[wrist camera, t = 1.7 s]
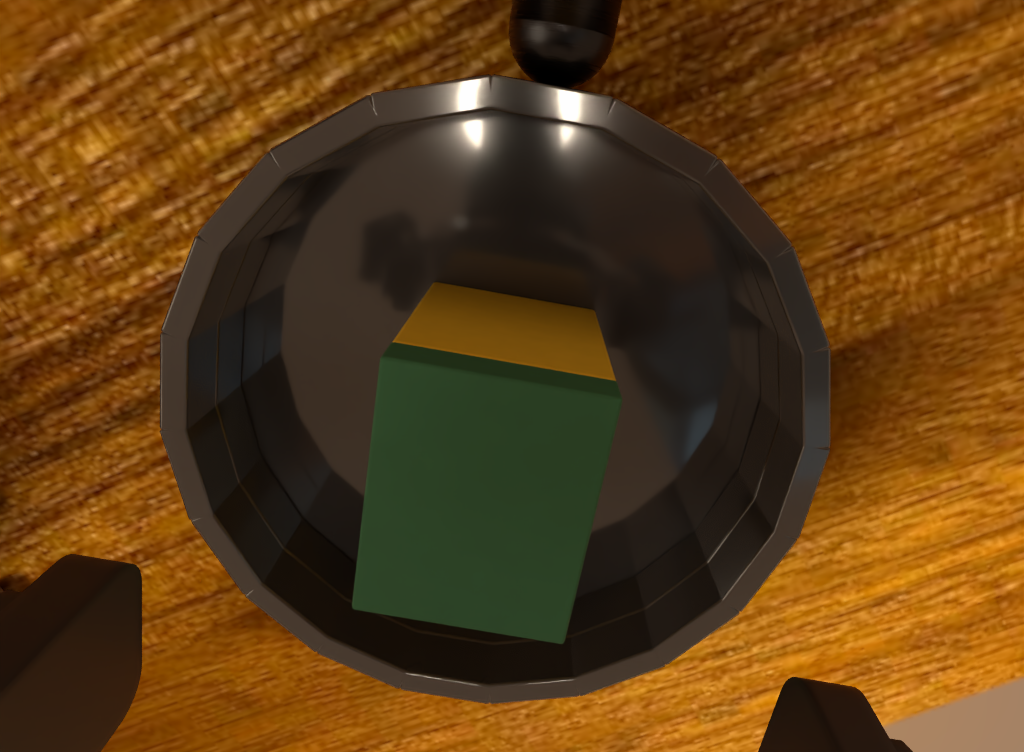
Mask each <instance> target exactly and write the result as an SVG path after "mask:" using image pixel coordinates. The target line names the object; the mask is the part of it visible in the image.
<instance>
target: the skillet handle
mask: <svg viewBox="0 0 1024 752" xmlns="http://www.w3.org/2000/svg"><path fill="white" fill-rule="evenodd" d="M621 3H622V0H513V2H512V9H511V15H510V22H509V40H510V46H511V49H512V53H513V56H514V58H515V59H516V61H517V63H518V65H519V66H520V68H521V69H522V70H523V71H524V73H525V74H526V75H528V76H529V77H530V78H531V79H532V80H533V81H535V82H539V83H544V84H550V85H555V86H561V87H566V88H571V87H574V86H577V85H580V84H582V83H584V82H586V81H587V80H589V79H591V78H592V77H593V76H594V75H595V74H596V73H597V72H598V71H599V70H600V69H601V68H602V66H603V65H604V64H605V62H606V60H607V58H608V56H609V54H610V52H611V49H612V46H613V42H614V38H615V33H616V28H617V23H618V18H619V13H620V8H621Z"/></svg>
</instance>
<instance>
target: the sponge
mask: <svg viewBox="0 0 1024 752" xmlns="http://www.w3.org/2000/svg"><path fill="white" fill-rule="evenodd" d="M621 405H622V397H621V393H620V390H619V387H618V383H617V382H616V379H615V376H614V373H613V369H612V366H611V363H610V359H609V356H608V353H607V349H606V346H605V343H604V339H603V336H602V333H601V329H600V326H599V323H598V320H597V316H596V313H595V311H594V310H591V309H586V308H580V307H574V306H569V305H563V304H557V303H552V302H546V301H540V300H535V299H529V298H524V297H518V296H512V295H507V294H501V293H495V292H490V291H484V290H478V289H473V288H467V287H461V286H456V285H450V284H444V283H439V282H435V283H433V284H432V286H431V287H430V289H429V290H428V291H427V293H426V294H425V296H424V297H423V299H422V300H421V302H420V303H419V304H418V306H417V307H416V309H415V310H414V312H413V313H412V314H411V316H410V317H409V319H408V320H407V322H406V323H405V325H404V326H403V327H402V329H401V330H400V332H399V333H398V335H397V336H396V338H395V339H394V340H393V342H392V343H390V345H389V346H388V348H387V349H386V351H385V352H384V354H383V355H382V356H381V358H380V364H379V373H378V382H377V390H376V399H375V408H374V417H373V425H372V434H371V443H370V452H369V460H368V469H367V478H366V487H365V495H364V504H363V513H362V522H361V531H360V539H359V548H358V557H357V566H356V574H355V583H354V592H353V601H352V607H353V609H355V610H360V611H366V612H372V613H378V614H384V615H390V616H396V617H402V618H408V619H414V620H420V621H426V622H432V623H438V624H444V625H450V626H456V627H462V628H468V629H474V630H480V631H486V632H492V633H498V634H504V635H510V636H516V637H522V638H528V639H534V640H540V641H546V642H552V643H558V644H563V643H564V641H565V638H566V634H567V629H568V625H569V621H570V617H571V613H572V609H573V604H574V600H575V596H576V592H577V588H578V584H579V580H580V575H581V571H582V567H583V563H584V559H585V555H586V551H587V546H588V542H589V538H590V534H591V530H592V526H593V521H594V517H595V513H596V509H597V505H598V501H599V497H600V492H601V488H602V484H603V480H604V476H605V472H606V467H607V463H608V459H609V455H610V451H611V447H612V443H613V438H614V434H615V430H616V426H617V422H618V418H619V414H620V409H621Z"/></svg>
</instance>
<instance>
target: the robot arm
mask: <svg viewBox="0 0 1024 752" xmlns="http://www.w3.org/2000/svg"><path fill="white" fill-rule="evenodd" d="M141 669H142V578H141V573H140V570H139V568H138V567H137V566H136V565H134V564H129V563H124V562H118V561H112V560H106V559H100V558H94V557H88V556H82V555H76V554H70V555H66V556H64V557H62V558H61V559H60V560H58V561H57V562H56V563H55V564H54V565H52V566H51V567H50V568H49V569H48V570H47V571H46V572H44V573H43V574H42V575H41V576H40V577H39V578H38V579H37V580H35V581H34V582H33V583H32V584H31V585H30V586H29V587H27V588H26V589H25V590H24V591H23V592H18V591H12V590H6V591H4V592H2V593H0V752H101V750H102V749H103V747H104V746H105V745H106V743H107V742H108V740H109V739H110V738H111V736H112V735H113V733H114V732H115V731H116V729H117V728H118V726H119V725H120V723H121V722H122V720H123V719H124V717H125V715H126V714H127V712H128V710H129V708H130V706H131V704H132V701H133V699H134V696H135V693H136V691H137V687H138V684H139V680H140V675H141ZM758 752H913V751H912V750H911V749H910V748H909V747H908V746H907V745H906V744H905V743H904V742H903V741H901V740H895V739H889V737H888V735H887V733H886V732H885V730H884V728H883V727H882V725H881V723H880V721H879V720H878V718H877V716H876V714H875V713H874V711H873V709H872V708H871V706H870V704H869V702H868V701H867V699H866V698H865V696H864V695H863V693H862V692H861V691H860V690H858V689H857V688H855V687H852V686H846V685H840V684H834V683H828V682H822V681H816V680H810V679H804V678H798V677H792V678H790V679H788V680H787V681H786V682H785V684H784V685H783V687H782V690H781V692H780V695H779V697H778V700H777V703H776V705H775V708H774V711H773V713H772V716H771V719H770V721H769V724H768V727H767V730H766V732H765V735H764V738H763V740H762V743H761V746H760V748H759V751H758Z"/></svg>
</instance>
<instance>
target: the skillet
mask: <svg viewBox="0 0 1024 752" xmlns="http://www.w3.org/2000/svg"><path fill="white" fill-rule="evenodd" d="M435 282H439V283H444V284H450V285H456V286H461V287H467V288H473V289H478V290H484V291H490V292H495V293H501V294H507V295H512V296H518V297H524V298H529V299H535V300H540V301H546V302H552V303H557V304H563V305H569V306H574V307H580V308H586V309H591V310H594V311H595V313H596V316H597V320H598V323H599V326H600V329H601V333H602V336H603V339H604V343H605V346H606V349H607V353H608V356H609V359H610V363H611V366H612V369H613V373H614V376H615V379H616V382H617V383H618V387H619V390H620V393H621V397H622V405H621V409H620V414H619V418H618V422H617V426H616V430H615V434H614V438H613V443H612V447H611V451H610V455H609V459H608V463H607V467H606V472H605V476H604V480H603V484H602V488H601V492H600V497H599V501H598V505H597V509H596V513H595V517H594V521H593V526H592V530H591V534H590V538H589V542H588V546H587V551H586V555H585V559H584V563H583V567H582V571H581V575H580V580H579V584H578V588H577V592H576V596H575V600H574V604H573V609H572V613H571V617H570V621H569V625H568V629H567V634H566V638H565V641H564V643H563V644H558V643H552V642H546V641H540V640H534V639H528V638H522V637H516V636H510V635H504V634H498V633H492V632H486V631H480V630H474V629H468V628H462V627H456V626H450V625H444V624H438V623H432V622H426V621H420V620H414V619H408V618H402V617H396V616H390V615H384V614H378V613H372V612H366V611H360V610H355V609H353V607H352V601H353V592H354V583H355V574H356V566H357V557H358V548H359V539H360V531H361V522H362V513H363V504H364V495H365V487H366V478H367V469H368V460H369V452H370V443H371V434H372V425H373V417H374V408H375V399H376V390H377V382H378V373H379V364H380V358H381V356H382V355H383V354H384V352H385V351H386V349H387V348H388V346H389V345H390V343H392V342H393V340H394V339H395V338H396V336H397V335H398V333H399V332H400V330H401V329H402V327H403V326H404V325H405V323H406V322H407V320H408V319H409V317H410V316H411V314H412V313H413V312H414V310H415V309H416V307H417V306H418V304H419V303H420V302H421V300H422V299H423V297H424V296H425V294H426V293H427V291H428V290H429V289H430V287H431V286H432V284H433V283H435ZM161 331H162V332H161V335H160V428H161V430H160V433H161V436H162V439H163V442H164V445H165V448H166V451H167V454H168V457H169V460H170V463H171V466H172V469H173V472H174V475H175V478H176V481H177V484H178V487H179V490H180V493H181V496H182V499H183V502H184V505H185V508H186V511H187V514H188V517H189V519H190V520H191V521H192V524H193V525H194V526H195V528H196V529H197V530H198V532H199V533H200V535H201V536H202V537H203V539H204V540H205V542H206V543H207V544H208V546H209V547H210V549H211V550H212V551H213V553H214V554H215V556H216V557H217V558H218V560H219V561H220V563H221V564H222V565H223V567H224V568H225V570H226V571H227V572H228V574H229V575H230V576H231V578H232V579H233V581H234V582H235V583H236V585H237V586H238V588H239V589H240V590H241V592H242V593H243V594H246V595H245V596H246V598H248V599H249V600H250V601H251V602H253V603H254V604H255V605H256V606H258V607H259V608H260V609H261V610H263V611H264V612H265V613H266V614H268V615H269V616H270V617H272V618H273V619H274V620H275V621H277V622H278V623H279V624H280V625H282V626H283V627H284V628H285V629H287V630H288V631H289V632H290V633H292V634H293V635H294V636H295V637H297V638H298V639H299V640H300V641H302V642H303V643H304V644H305V645H307V646H308V647H309V648H310V649H312V650H313V651H314V652H317V653H318V654H320V655H322V656H324V657H327V658H329V659H331V660H333V661H336V662H338V663H340V664H343V665H345V666H347V667H349V668H352V669H354V670H356V671H359V672H361V673H363V674H365V675H368V676H370V677H372V678H375V679H377V680H379V681H381V682H384V683H386V684H388V685H391V686H393V687H395V688H398V689H399V688H400V687H401V689H402V690H406V691H412V692H418V693H424V694H430V695H436V696H442V697H449V698H455V699H461V700H467V701H473V702H479V703H485V704H488V703H489V702H490V703H491V704H498V703H509V702H521V701H532V700H544V699H556V698H567V697H577V696H579V695H580V696H583V695H586V694H589V693H592V692H594V691H597V690H600V689H603V688H606V687H608V686H611V685H614V684H617V683H620V682H622V681H625V680H628V679H631V678H634V677H636V676H639V675H642V674H645V673H648V672H650V671H653V670H656V669H659V668H662V667H664V666H665V664H666V665H667V664H669V663H670V662H672V661H673V660H675V659H676V658H677V657H679V656H680V655H682V654H683V653H685V652H686V651H687V650H689V649H690V648H692V647H693V646H694V645H696V644H697V643H699V642H700V641H701V640H703V639H704V638H706V637H707V636H709V635H710V634H711V633H713V632H714V631H716V630H717V629H718V628H720V627H721V626H723V625H724V624H726V623H727V622H728V621H730V620H731V619H733V618H734V617H735V616H737V615H738V614H739V611H742V610H743V609H744V608H745V607H746V605H747V604H748V603H749V601H750V600H751V599H752V598H753V596H754V595H755V594H756V592H757V591H758V590H759V589H760V587H761V586H762V585H763V583H764V582H765V581H766V580H767V578H768V577H769V576H770V574H771V573H772V572H773V571H774V569H775V568H776V567H777V565H778V564H779V563H780V562H781V560H782V559H783V558H784V556H785V555H786V554H787V553H788V551H789V550H790V549H791V547H792V546H793V545H794V544H795V542H796V540H797V539H798V538H799V536H800V533H801V530H802V528H803V525H804V522H805V519H806V516H807V514H808V511H809V508H810V505H811V502H812V500H813V497H814V494H815V491H816V488H817V486H818V483H819V480H820V477H821V474H822V472H823V469H824V466H825V463H826V460H827V458H828V455H829V452H830V448H829V447H830V360H831V350H830V348H829V341H828V338H827V335H826V332H825V330H824V327H823V324H822V321H821V319H820V316H819V313H818V310H817V308H816V305H815V302H814V300H813V297H812V294H811V291H810V289H809V286H808V283H807V280H806V278H805V275H804V272H803V269H802V267H801V264H800V261H799V259H798V256H797V253H796V250H795V248H794V247H793V246H792V243H791V241H790V240H789V239H788V238H787V237H786V235H785V234H784V233H783V232H782V231H781V229H780V228H779V227H778V226H777V225H776V224H775V222H774V221H773V220H772V219H771V218H770V217H769V215H768V214H767V213H766V212H765V211H764V209H763V208H762V207H761V206H760V205H759V204H758V202H757V201H756V200H755V199H754V198H753V196H752V195H751V194H750V193H749V192H748V191H747V189H746V188H745V187H744V186H743V185H742V183H741V182H740V181H739V180H738V179H737V178H736V176H735V175H734V174H733V173H732V172H731V170H730V169H729V168H728V167H727V166H726V165H725V163H724V162H723V161H722V160H721V159H718V158H717V156H716V155H715V154H713V153H711V152H710V151H708V150H706V149H704V148H703V147H701V146H699V145H697V144H696V143H694V142H692V141H691V140H689V139H687V138H685V137H684V136H682V135H680V134H678V133H677V132H675V131H673V130H671V129H670V128H668V127H666V126H664V125H663V124H661V123H659V122H657V121H656V120H654V119H652V118H651V117H649V116H647V115H645V114H644V113H642V112H640V111H638V110H637V109H635V108H633V107H631V106H630V105H628V104H626V103H624V102H623V101H621V100H619V99H617V98H613V97H612V96H610V95H604V94H599V93H593V92H588V91H582V90H577V89H572V88H566V87H561V86H555V85H550V84H544V83H539V82H533V81H528V80H522V79H517V78H512V77H506V76H501V75H495V74H494V75H492V76H491V75H489V74H487V75H481V76H475V77H468V78H462V79H456V80H450V81H444V82H437V83H431V84H425V85H419V86H413V87H406V88H400V89H394V90H388V91H381V92H375V93H372V94H371V95H366V96H365V97H363V98H361V99H359V100H357V101H356V102H354V103H352V104H350V105H348V106H347V107H345V108H343V109H341V110H339V111H338V112H336V113H334V114H332V115H330V116H329V117H327V118H325V119H323V120H321V121H320V122H318V123H316V124H314V125H312V126H311V127H309V128H307V129H305V130H303V131H302V132H300V133H298V134H296V135H294V136H293V137H291V138H289V139H287V140H285V141H284V142H282V143H280V144H278V145H276V146H275V147H273V148H271V149H270V151H269V152H267V153H265V154H264V155H263V156H262V158H261V159H260V160H259V161H258V162H257V163H256V165H255V166H254V167H253V168H252V169H251V170H250V172H249V173H248V174H247V175H246V176H245V177H244V179H243V180H242V181H241V182H240V183H239V184H238V186H237V187H236V188H235V189H234V190H233V191H232V193H231V194H230V195H229V196H228V197H227V198H226V200H225V201H224V202H223V203H222V204H221V205H220V207H219V208H218V209H217V210H216V211H215V212H214V214H213V215H212V216H211V217H210V218H209V219H208V221H207V222H206V223H205V224H204V225H203V226H202V228H201V229H200V230H199V231H198V235H197V236H196V237H195V238H194V241H193V244H192V247H191V249H190V252H189V255H188V258H187V260H186V263H185V266H184V268H183V271H182V274H181V277H180V279H179V282H178V285H177V288H176V290H175V293H174V296H173V298H172V301H171V304H170V307H169V309H168V312H167V315H166V318H165V320H164V323H163V326H162V329H161Z"/></svg>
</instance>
